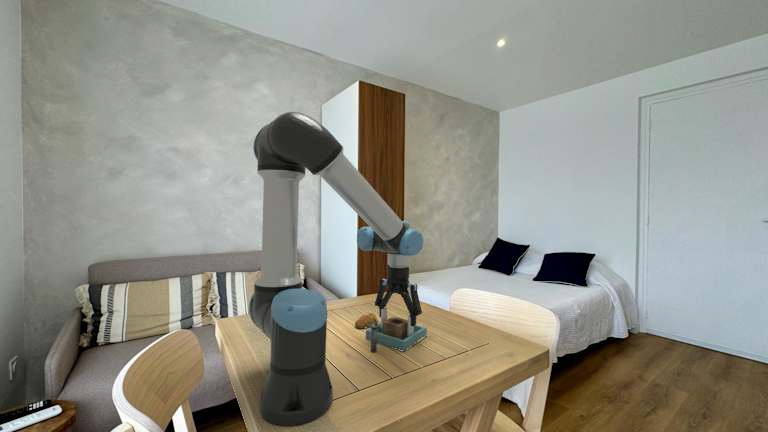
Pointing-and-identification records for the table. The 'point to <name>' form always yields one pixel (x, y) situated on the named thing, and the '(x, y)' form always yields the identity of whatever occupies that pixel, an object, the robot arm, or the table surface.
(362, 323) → the pastry
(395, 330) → the collar
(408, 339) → the tray
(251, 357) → the table surface
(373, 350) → the metal bolt
